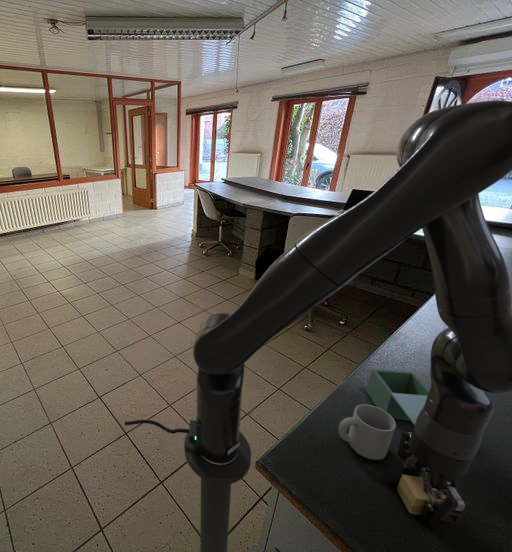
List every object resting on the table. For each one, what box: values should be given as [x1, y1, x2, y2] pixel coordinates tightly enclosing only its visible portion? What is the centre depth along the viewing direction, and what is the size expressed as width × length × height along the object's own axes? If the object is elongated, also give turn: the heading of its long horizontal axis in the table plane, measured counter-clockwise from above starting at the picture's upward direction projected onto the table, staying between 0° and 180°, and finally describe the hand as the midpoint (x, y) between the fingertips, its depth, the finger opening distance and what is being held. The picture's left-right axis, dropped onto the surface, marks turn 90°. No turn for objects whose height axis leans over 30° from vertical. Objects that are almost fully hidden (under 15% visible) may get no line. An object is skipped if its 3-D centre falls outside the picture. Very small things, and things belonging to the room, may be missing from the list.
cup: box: [337, 403, 397, 461], centre depth 66 cm, size 7×10×9 cm
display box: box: [365, 368, 430, 422], centre depth 76 cm, size 10×10×8 cm
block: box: [396, 475, 440, 516], centre depth 55 cm, size 4×4×4 cm
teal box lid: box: [391, 393, 427, 426], centre depth 64 cm, size 10×10×5 cm
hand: (417, 501), depth 56 cm, fingers open, 6 cm apart
